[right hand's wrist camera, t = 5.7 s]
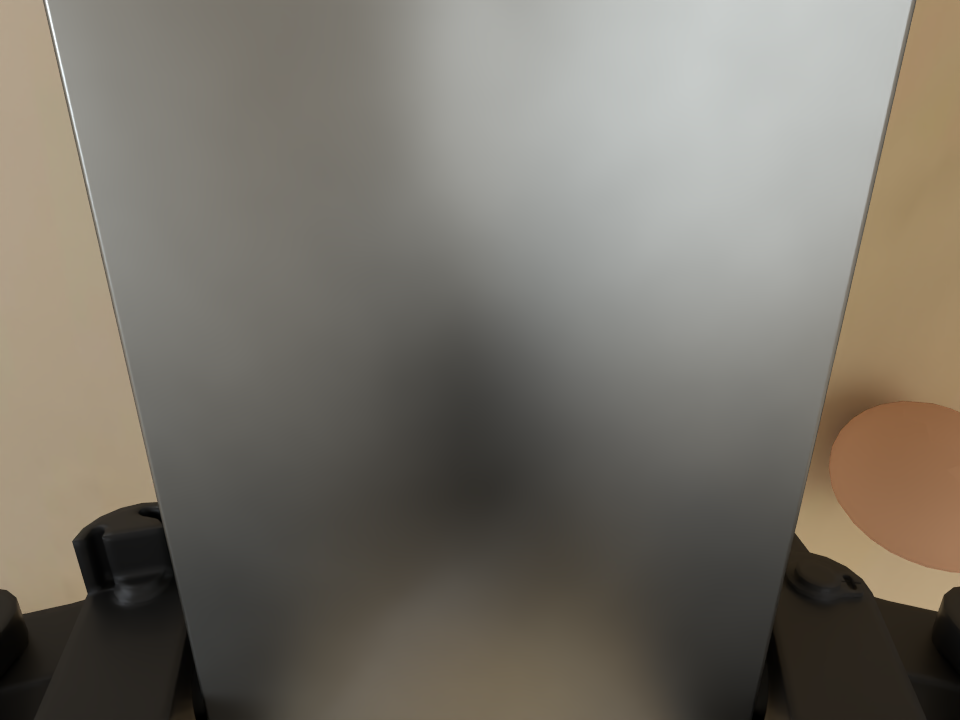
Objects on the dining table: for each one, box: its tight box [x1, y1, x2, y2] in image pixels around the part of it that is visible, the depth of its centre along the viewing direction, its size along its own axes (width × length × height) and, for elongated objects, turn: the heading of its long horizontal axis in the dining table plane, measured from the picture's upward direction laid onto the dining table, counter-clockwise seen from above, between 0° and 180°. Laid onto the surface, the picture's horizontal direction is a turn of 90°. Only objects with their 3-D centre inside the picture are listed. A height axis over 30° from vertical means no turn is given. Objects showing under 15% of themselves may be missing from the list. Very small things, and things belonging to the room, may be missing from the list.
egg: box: [829, 401, 960, 573], centre depth 24 cm, size 6×6×8 cm
